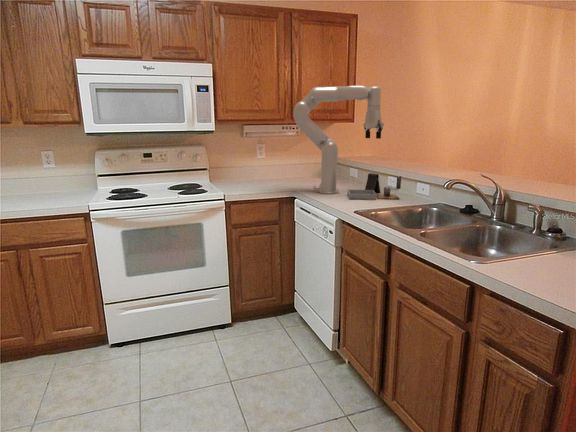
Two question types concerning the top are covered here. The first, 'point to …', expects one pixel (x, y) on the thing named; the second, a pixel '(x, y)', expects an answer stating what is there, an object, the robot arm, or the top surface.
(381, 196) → the crank base
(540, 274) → the top surface
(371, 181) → the door stopper
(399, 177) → the crank
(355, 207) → the top surface
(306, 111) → the robot arm
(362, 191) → the tray
